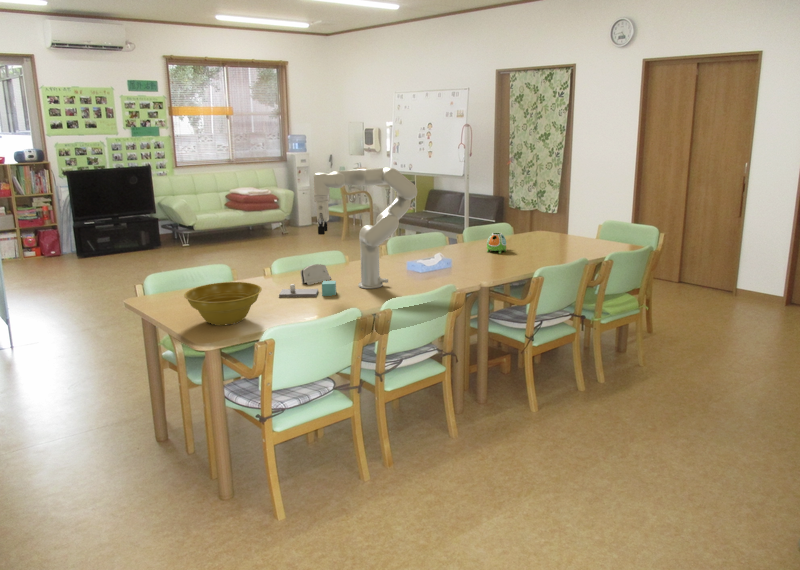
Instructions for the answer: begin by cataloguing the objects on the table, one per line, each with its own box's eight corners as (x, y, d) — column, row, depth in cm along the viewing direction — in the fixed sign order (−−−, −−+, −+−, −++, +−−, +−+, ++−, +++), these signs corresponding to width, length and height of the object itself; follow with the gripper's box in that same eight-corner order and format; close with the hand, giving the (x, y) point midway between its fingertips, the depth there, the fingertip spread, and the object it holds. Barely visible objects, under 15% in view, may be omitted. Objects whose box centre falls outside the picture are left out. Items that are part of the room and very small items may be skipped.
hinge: (307, 285, 342) (302, 266, 342) (302, 286, 346) (297, 268, 345) (332, 279, 354) (327, 261, 354) (326, 280, 357) (322, 263, 357)
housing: (336, 292, 327) (335, 280, 326) (335, 295, 321) (334, 283, 320) (323, 292, 327) (323, 280, 326) (322, 295, 321) (321, 284, 320)
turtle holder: (510, 249, 428) (511, 231, 425) (502, 254, 412) (503, 235, 409) (492, 247, 433) (493, 230, 430) (483, 252, 418) (484, 234, 415)
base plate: (318, 291, 329) (317, 281, 328) (316, 296, 319) (315, 287, 318) (282, 292, 329) (281, 282, 328) (279, 297, 319) (278, 287, 318)
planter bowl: (202, 338, 262) (199, 305, 258) (176, 318, 287) (173, 289, 284) (276, 322, 280) (274, 292, 276) (245, 306, 305) (243, 278, 302)
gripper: (327, 200, 313) (328, 235, 317) (331, 196, 330) (332, 230, 334) (311, 200, 313) (312, 235, 317) (317, 196, 330) (317, 229, 334)
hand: (322, 232), depth 326 cm, fingers open, 9 cm apart
